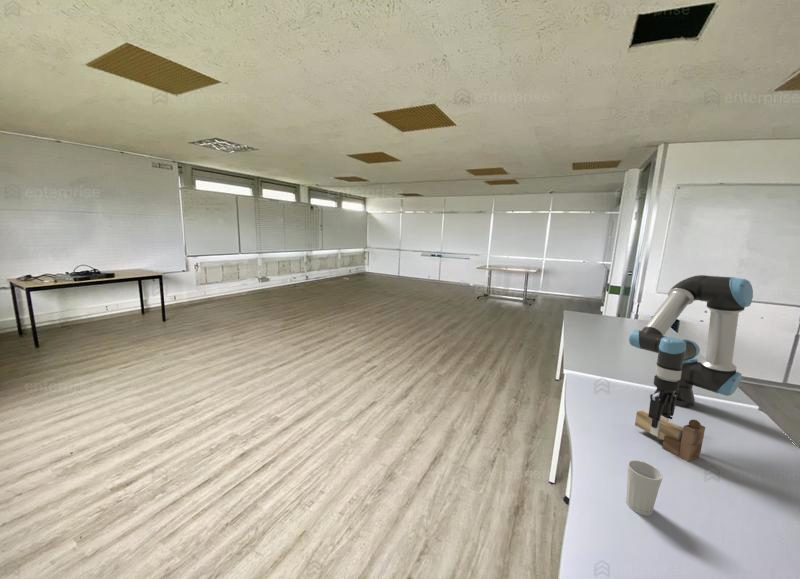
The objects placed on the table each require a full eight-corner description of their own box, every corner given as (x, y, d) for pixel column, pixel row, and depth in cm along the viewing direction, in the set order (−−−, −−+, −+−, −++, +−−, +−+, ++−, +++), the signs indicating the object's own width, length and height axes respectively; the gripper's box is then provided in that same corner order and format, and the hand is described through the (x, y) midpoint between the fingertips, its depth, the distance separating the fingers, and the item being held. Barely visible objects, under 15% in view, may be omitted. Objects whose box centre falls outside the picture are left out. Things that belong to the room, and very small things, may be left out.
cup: (615, 496, 96) (621, 460, 94) (640, 495, 97) (645, 459, 95) (637, 518, 88) (643, 480, 87) (663, 517, 89) (670, 479, 87)
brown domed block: (675, 443, 123) (681, 409, 121) (700, 457, 116) (707, 420, 114) (662, 448, 120) (668, 412, 118) (687, 461, 113) (694, 424, 111)
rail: (641, 423, 133) (643, 410, 132) (685, 445, 119) (687, 431, 118) (634, 425, 132) (636, 411, 131) (678, 448, 117) (681, 433, 116)
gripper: (669, 371, 128) (661, 424, 132) (642, 376, 122) (633, 432, 126) (692, 379, 121) (682, 435, 125) (664, 384, 115) (654, 443, 119)
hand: (658, 433), depth 125 cm, fingers closed on rail, 4 cm apart
